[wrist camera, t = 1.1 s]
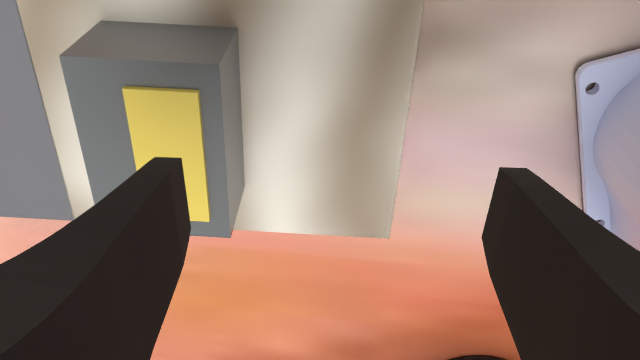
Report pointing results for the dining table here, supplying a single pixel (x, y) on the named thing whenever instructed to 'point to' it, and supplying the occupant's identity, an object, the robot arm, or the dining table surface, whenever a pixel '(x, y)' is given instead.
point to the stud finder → (161, 111)
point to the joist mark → (25, 132)
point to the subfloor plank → (274, 101)
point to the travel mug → (477, 358)
